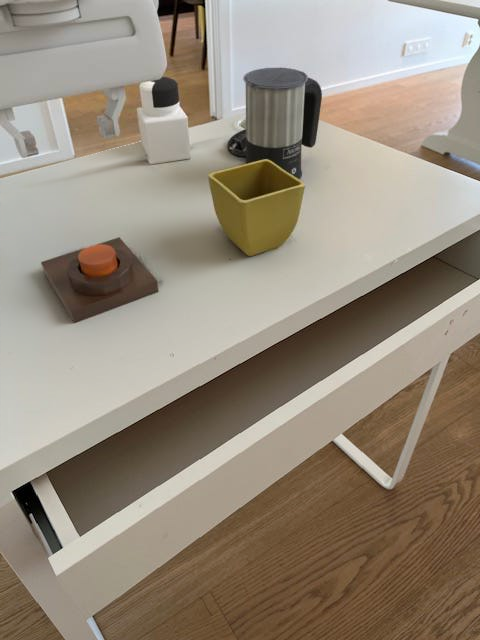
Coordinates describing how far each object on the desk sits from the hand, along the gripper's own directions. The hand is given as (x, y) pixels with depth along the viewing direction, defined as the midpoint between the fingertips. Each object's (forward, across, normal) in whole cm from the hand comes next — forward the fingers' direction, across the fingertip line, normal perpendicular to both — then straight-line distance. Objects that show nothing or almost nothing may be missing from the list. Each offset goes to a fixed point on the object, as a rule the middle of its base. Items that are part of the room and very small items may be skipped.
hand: (70, 144), depth 48 cm
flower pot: (+17, -20, +2) cm, 26 cm away
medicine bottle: (+17, -23, -30) cm, 42 cm away
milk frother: (+17, -34, -17) cm, 42 cm away
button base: (+17, 0, -2) cm, 17 cm away
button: (+14, 0, 0) cm, 14 cm away
